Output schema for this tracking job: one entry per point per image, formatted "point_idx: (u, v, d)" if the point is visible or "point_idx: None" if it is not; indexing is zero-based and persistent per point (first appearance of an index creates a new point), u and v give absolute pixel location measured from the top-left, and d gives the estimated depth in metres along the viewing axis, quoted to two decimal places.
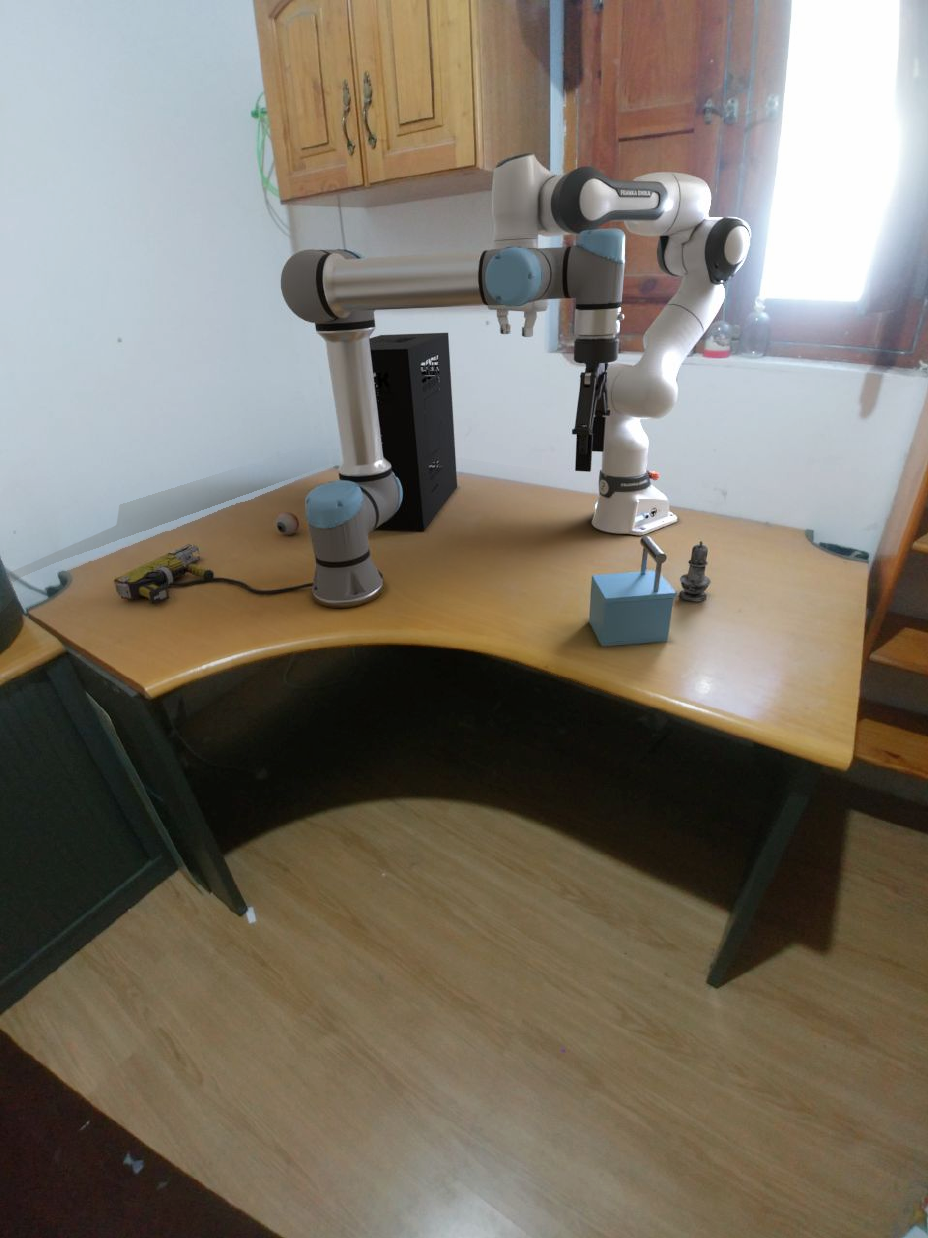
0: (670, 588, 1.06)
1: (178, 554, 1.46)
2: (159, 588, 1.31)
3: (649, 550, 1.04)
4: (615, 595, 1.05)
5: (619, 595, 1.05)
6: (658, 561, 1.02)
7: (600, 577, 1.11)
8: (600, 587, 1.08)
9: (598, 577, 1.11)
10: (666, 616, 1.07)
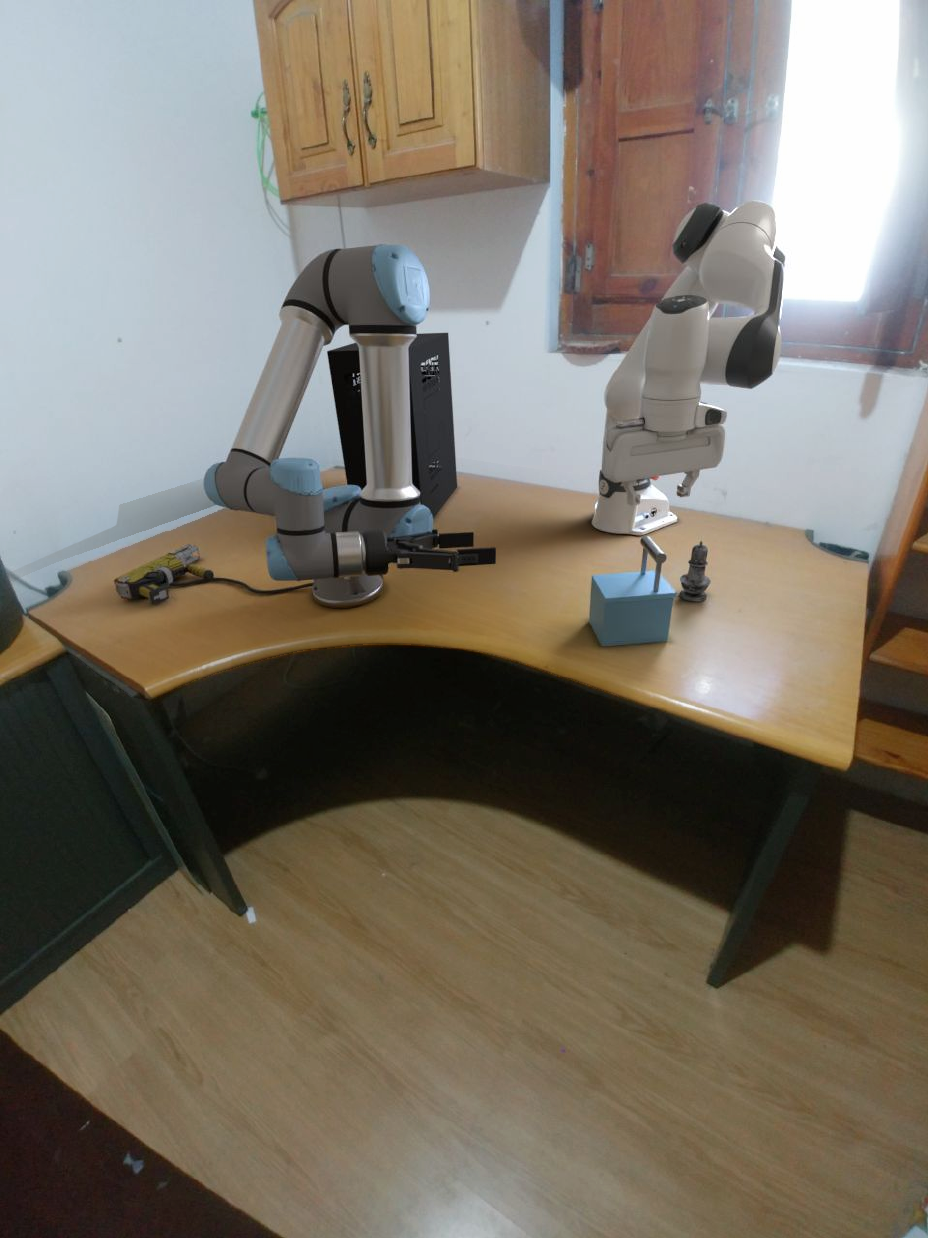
0: (670, 588, 1.06)
1: (178, 554, 1.46)
2: (159, 588, 1.31)
3: (649, 550, 1.04)
4: (615, 595, 1.05)
5: (619, 595, 1.05)
6: (658, 561, 1.02)
7: (600, 577, 1.11)
8: (600, 587, 1.08)
9: (598, 577, 1.11)
10: (666, 616, 1.07)
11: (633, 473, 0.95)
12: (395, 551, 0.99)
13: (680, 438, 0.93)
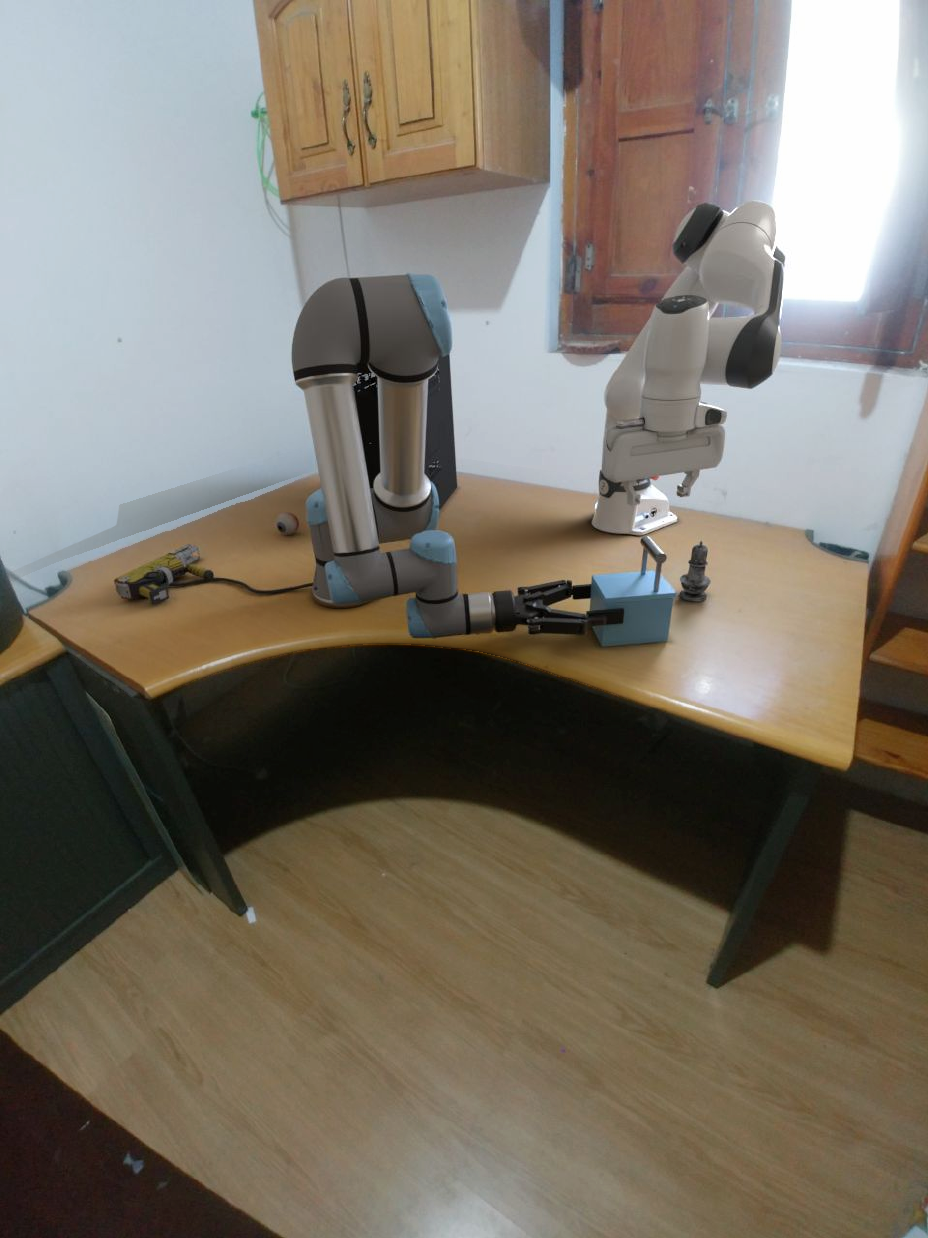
0: (670, 588, 1.06)
1: (178, 554, 1.46)
2: (159, 588, 1.31)
3: (649, 550, 1.04)
4: (615, 595, 1.05)
5: (619, 595, 1.05)
6: (658, 561, 1.02)
7: (600, 577, 1.11)
8: (600, 587, 1.08)
9: (598, 577, 1.11)
10: (666, 616, 1.07)
11: (633, 473, 0.95)
12: (523, 615, 1.06)
13: (680, 438, 0.93)
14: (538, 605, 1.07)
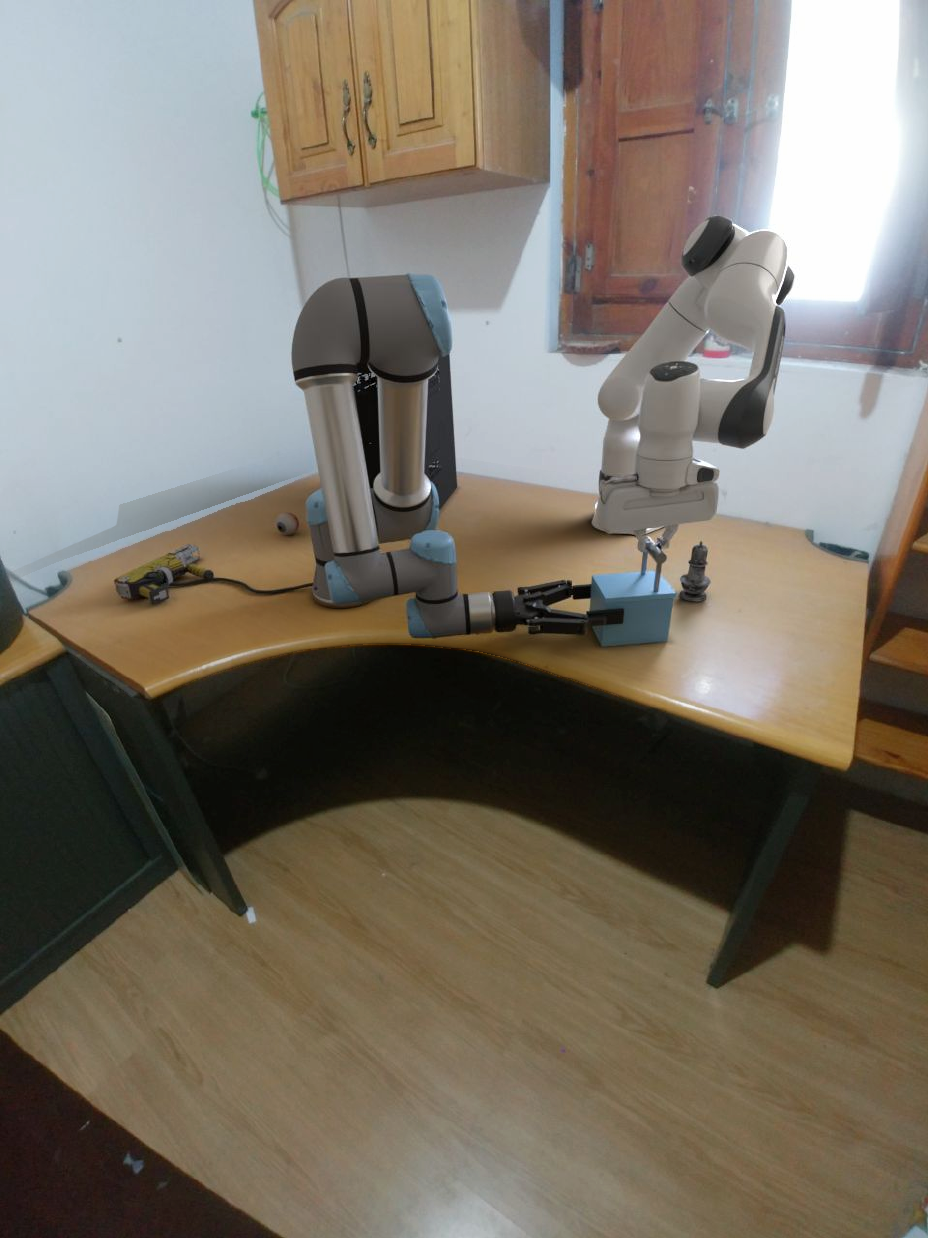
0: (670, 588, 1.06)
1: (178, 554, 1.46)
2: (159, 588, 1.31)
3: None
4: (615, 595, 1.05)
5: (619, 595, 1.05)
6: (658, 561, 1.02)
7: (600, 577, 1.11)
8: (600, 587, 1.08)
9: (598, 577, 1.11)
10: (666, 616, 1.07)
11: (626, 525, 1.00)
12: (523, 615, 1.06)
13: (672, 494, 0.97)
14: (538, 605, 1.07)
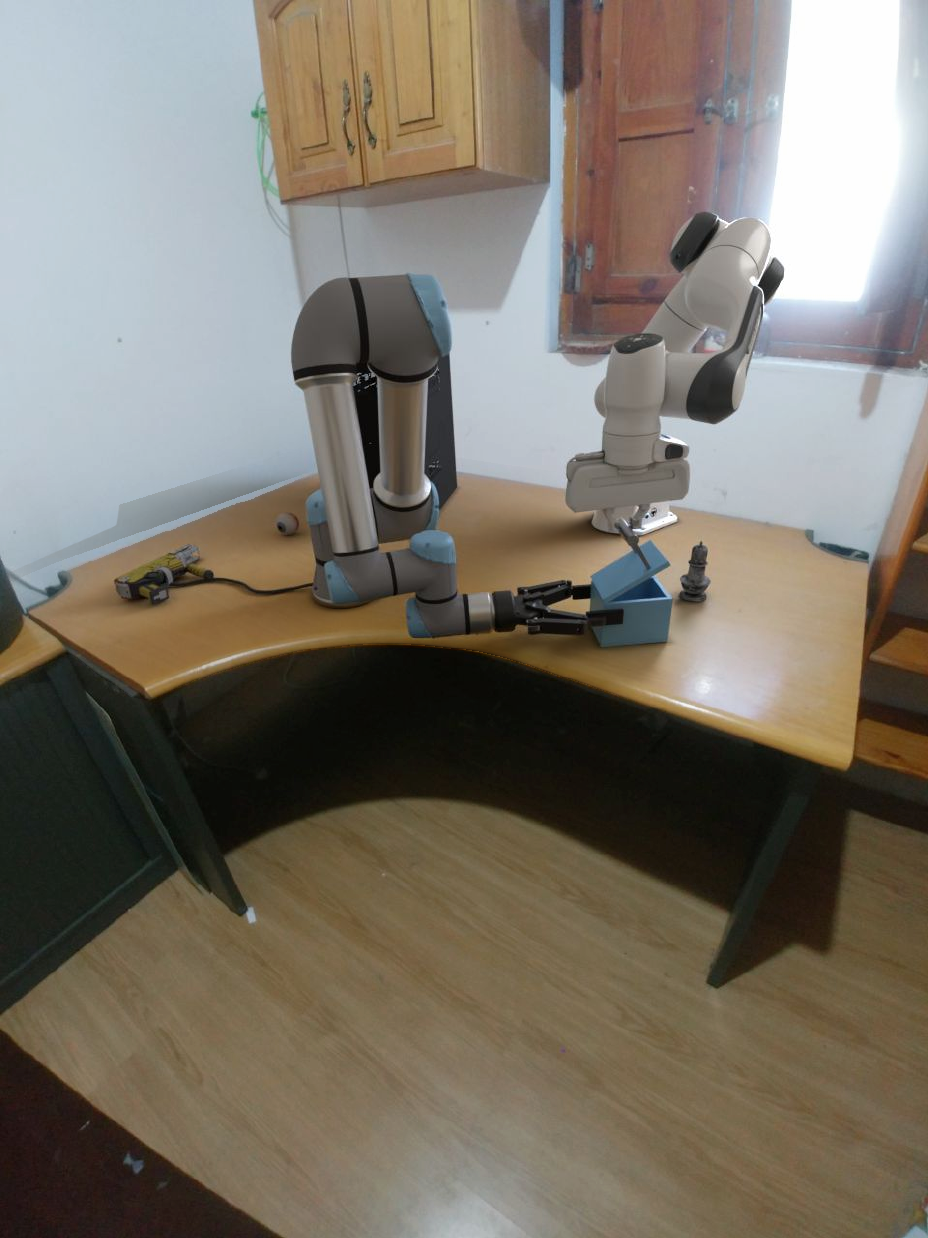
0: (662, 558, 1.02)
1: (178, 554, 1.46)
2: (159, 588, 1.31)
3: (622, 535, 1.02)
4: (611, 591, 1.04)
5: (615, 589, 1.04)
6: (632, 544, 1.00)
7: (597, 575, 1.10)
8: (598, 587, 1.07)
9: (596, 575, 1.11)
10: (666, 616, 1.06)
11: (593, 504, 0.97)
12: (522, 615, 1.05)
13: (639, 472, 0.95)
14: (538, 605, 1.07)
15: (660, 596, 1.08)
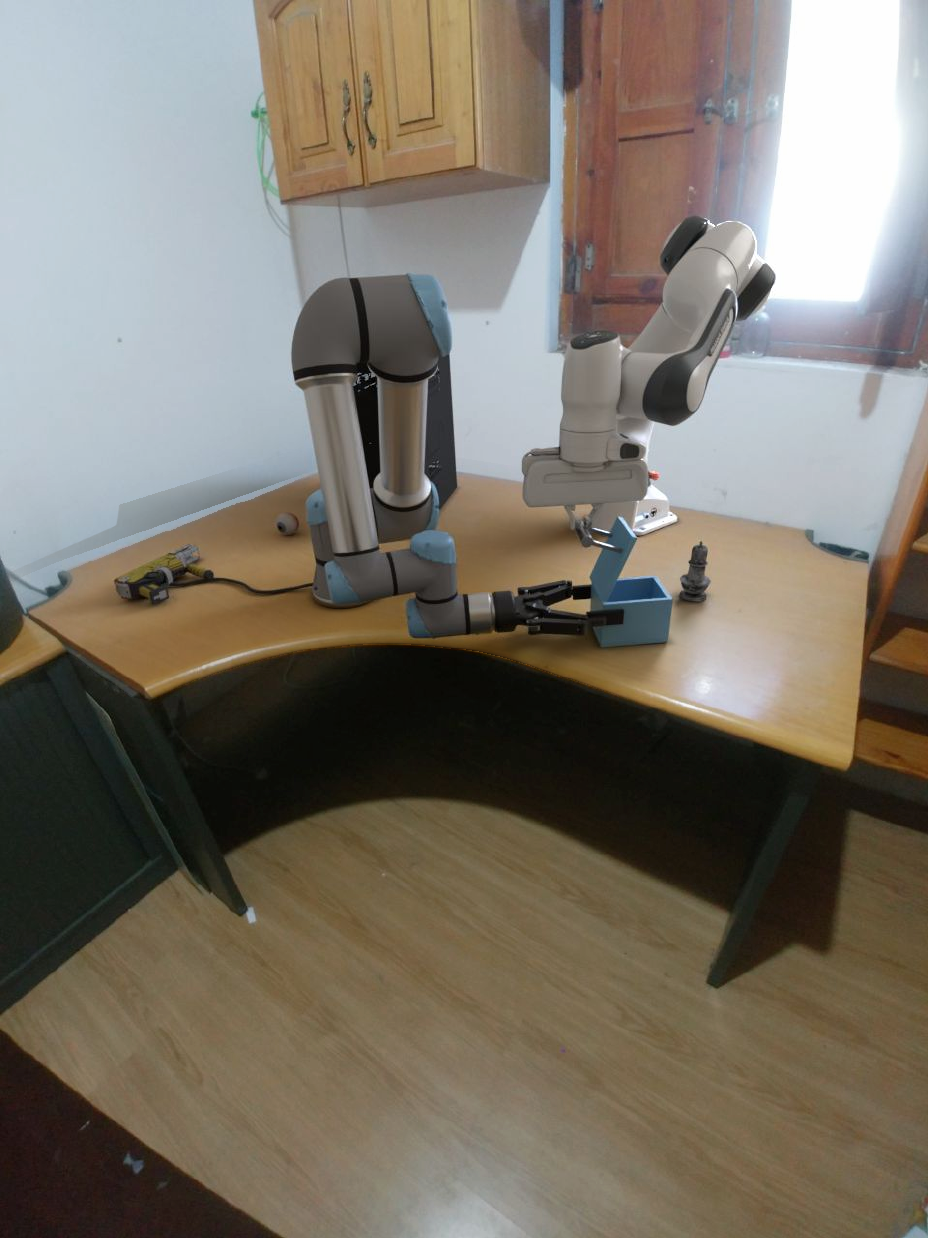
0: (628, 535, 1.00)
1: (178, 554, 1.46)
2: (159, 588, 1.31)
3: (579, 539, 1.02)
4: (604, 589, 1.04)
5: (606, 586, 1.03)
6: (589, 545, 0.99)
7: (593, 574, 1.10)
8: (596, 588, 1.07)
9: (592, 575, 1.10)
10: (666, 617, 1.06)
11: (548, 500, 0.97)
12: (522, 616, 1.05)
13: (594, 469, 0.94)
14: (538, 605, 1.07)
15: (660, 596, 1.08)
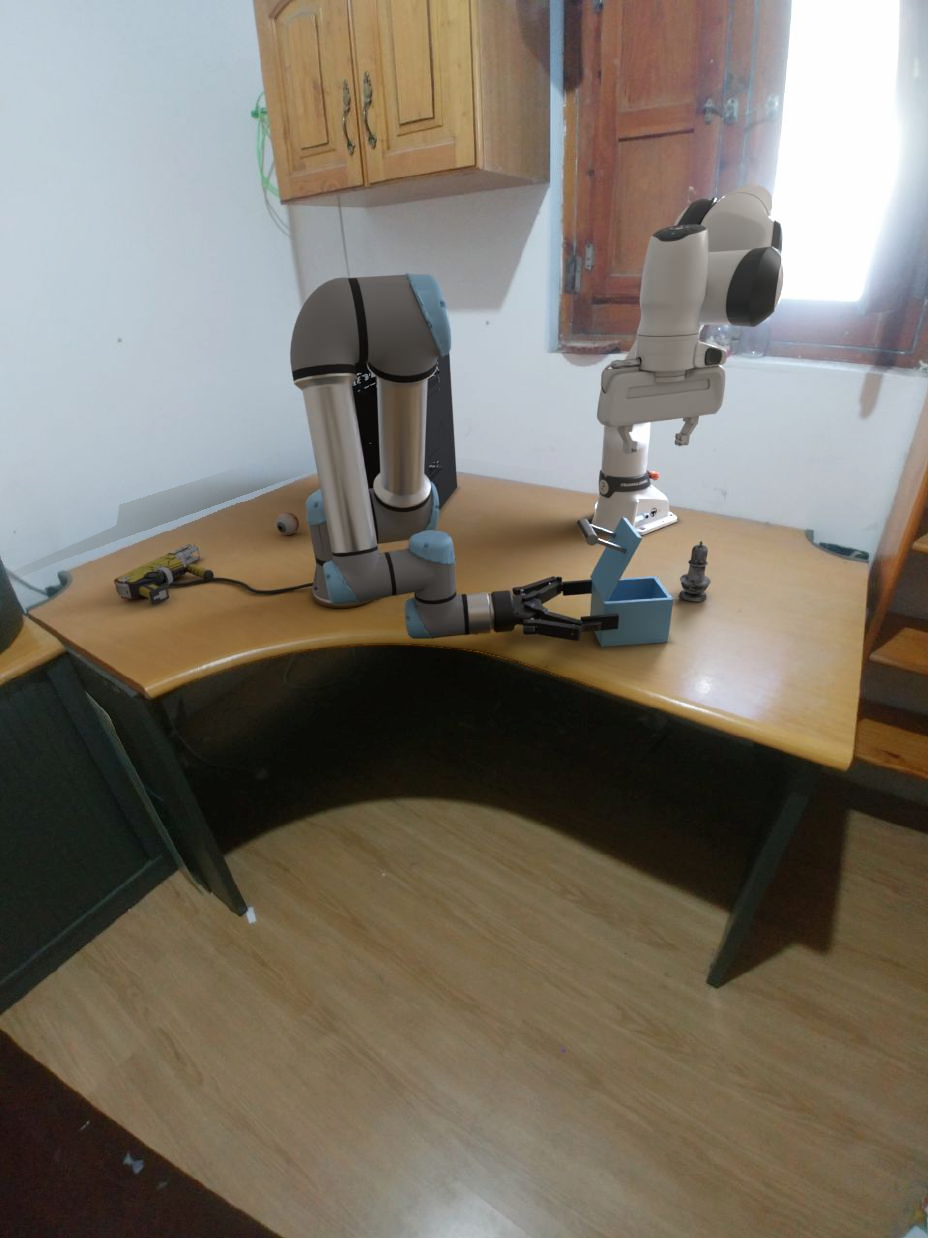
0: (633, 535, 1.00)
1: (178, 554, 1.46)
2: (159, 588, 1.31)
3: None
4: (606, 588, 1.04)
5: (608, 585, 1.03)
6: (594, 542, 0.99)
7: (594, 574, 1.10)
8: (597, 588, 1.08)
9: (593, 574, 1.11)
10: (666, 617, 1.06)
11: (629, 417, 0.90)
12: (521, 615, 1.06)
13: (678, 379, 0.88)
14: (537, 605, 1.07)
15: (661, 596, 1.08)
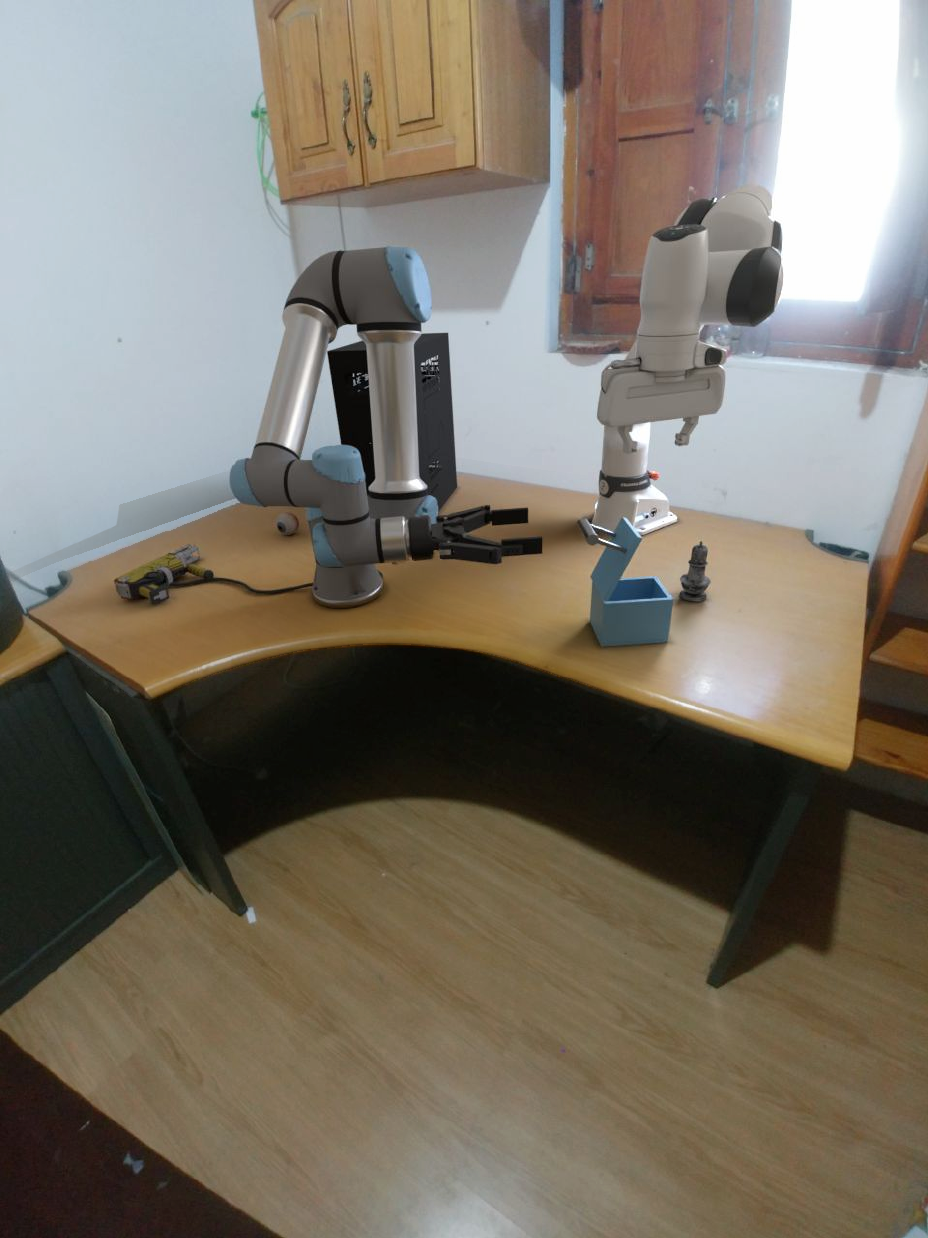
0: (633, 535, 1.00)
1: (178, 554, 1.46)
2: (159, 588, 1.31)
3: None
4: (606, 588, 1.04)
5: (608, 585, 1.03)
6: (594, 542, 0.99)
7: (594, 574, 1.10)
8: (597, 588, 1.08)
9: (593, 574, 1.11)
10: (666, 617, 1.06)
11: (629, 417, 0.90)
12: (439, 539, 0.97)
13: (678, 379, 0.88)
14: (456, 529, 0.99)
15: (661, 596, 1.08)
